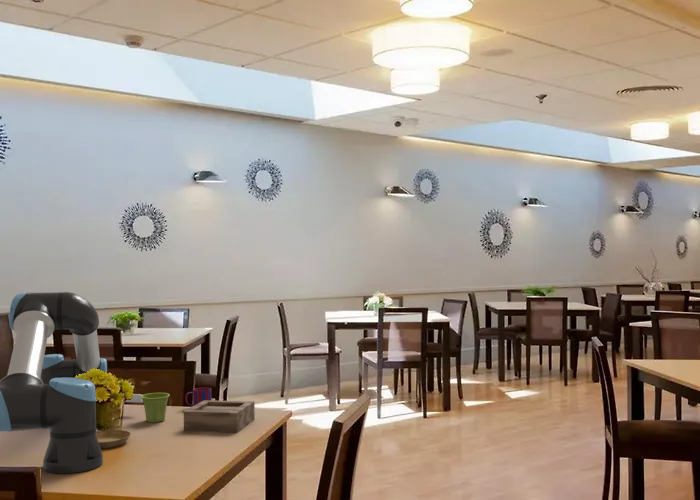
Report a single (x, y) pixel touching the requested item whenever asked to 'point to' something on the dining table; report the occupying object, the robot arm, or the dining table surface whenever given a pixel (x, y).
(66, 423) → the robot arm
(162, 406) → the plant pot
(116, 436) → the plant saucer
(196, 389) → the mug
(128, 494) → the dining table surface
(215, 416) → the walnut plant stand
